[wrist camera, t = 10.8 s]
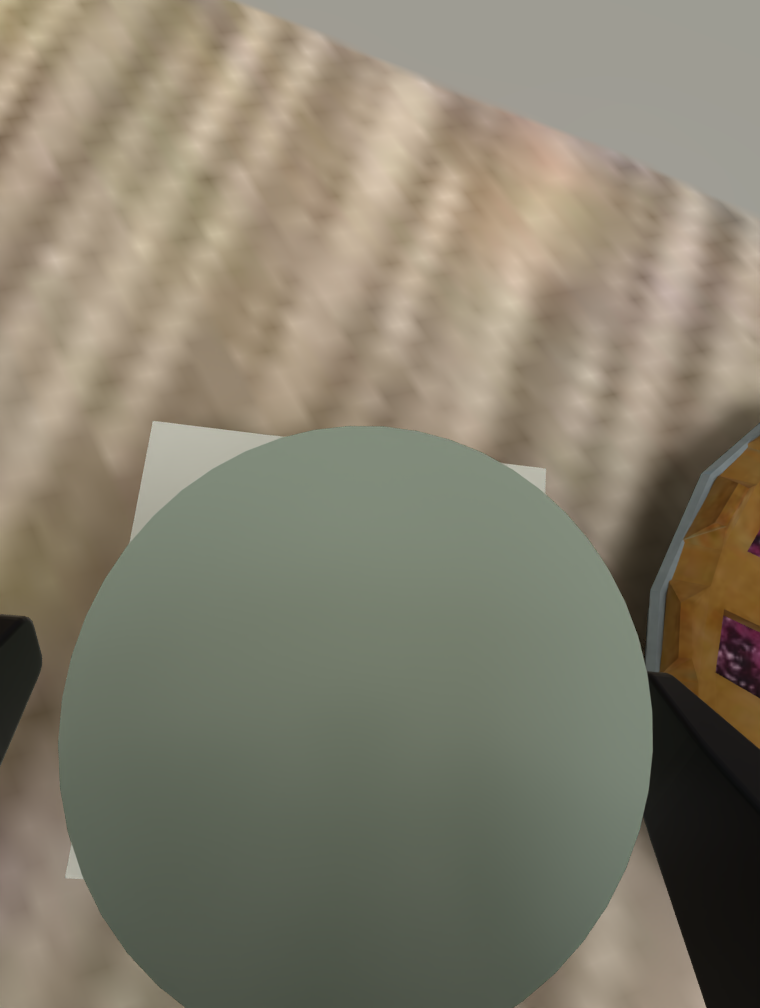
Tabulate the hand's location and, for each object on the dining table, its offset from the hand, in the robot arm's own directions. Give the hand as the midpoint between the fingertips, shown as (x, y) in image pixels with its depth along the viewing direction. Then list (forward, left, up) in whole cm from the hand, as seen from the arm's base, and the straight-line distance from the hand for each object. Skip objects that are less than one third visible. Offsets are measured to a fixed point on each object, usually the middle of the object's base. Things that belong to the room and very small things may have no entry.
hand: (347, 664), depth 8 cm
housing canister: (0, 0, -7) cm, 7 cm away
